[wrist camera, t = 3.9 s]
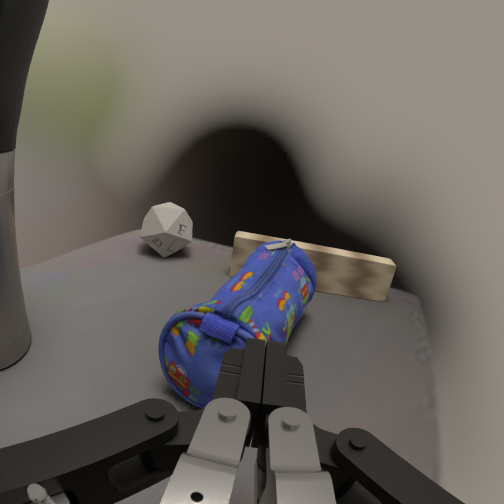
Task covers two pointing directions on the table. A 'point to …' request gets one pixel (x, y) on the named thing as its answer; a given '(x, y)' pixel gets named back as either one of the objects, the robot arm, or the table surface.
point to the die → (167, 228)
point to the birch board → (329, 267)
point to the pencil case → (236, 318)
